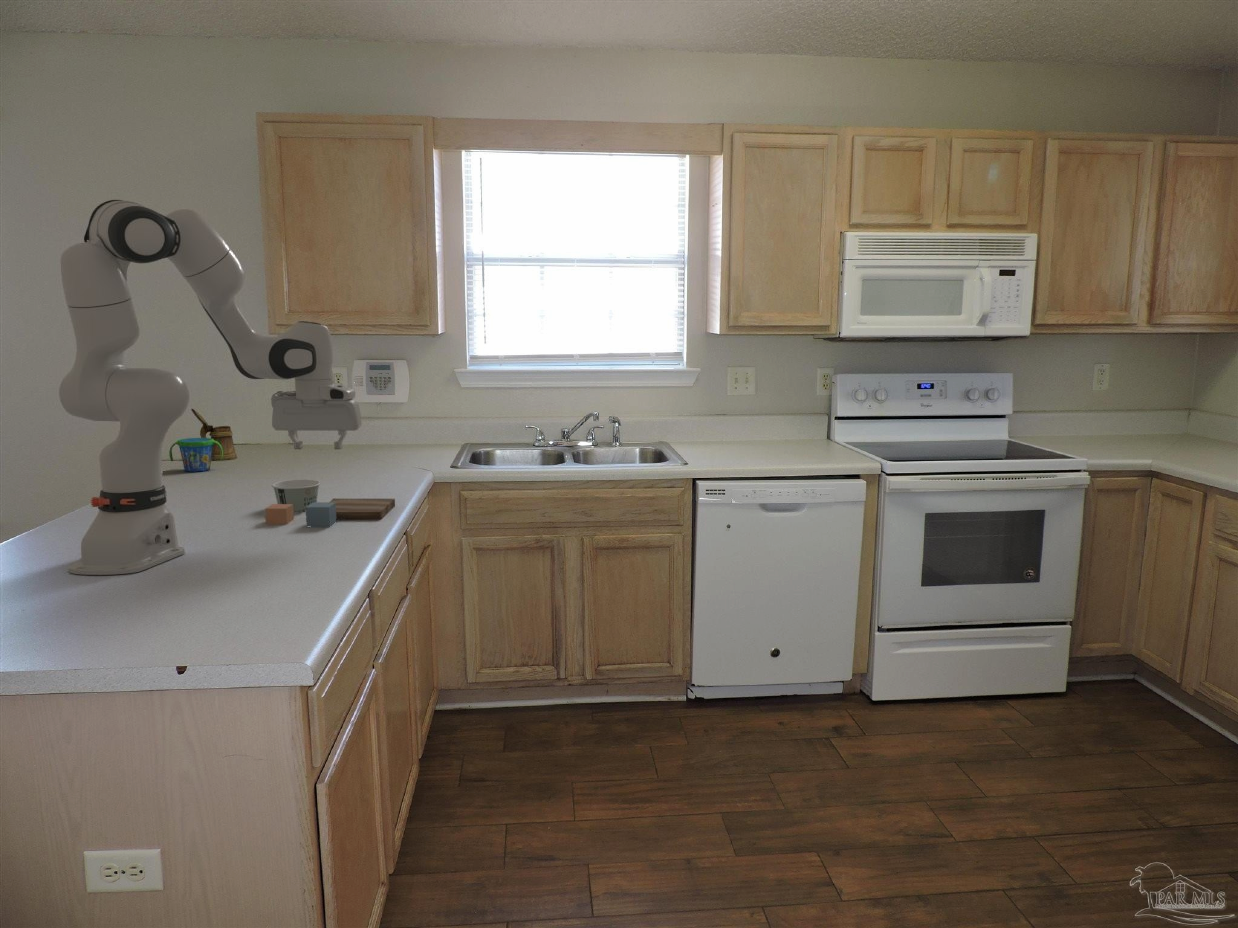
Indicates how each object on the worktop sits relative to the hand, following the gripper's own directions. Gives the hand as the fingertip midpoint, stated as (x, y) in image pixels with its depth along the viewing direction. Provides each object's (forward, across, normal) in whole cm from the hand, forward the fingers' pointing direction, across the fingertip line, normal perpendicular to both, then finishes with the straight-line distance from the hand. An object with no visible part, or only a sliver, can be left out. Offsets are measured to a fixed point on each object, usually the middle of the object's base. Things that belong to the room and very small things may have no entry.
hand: (318, 449), depth 208 cm
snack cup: (+19, -62, +75) cm, 99 cm away
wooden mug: (+19, -66, +99) cm, 120 cm away
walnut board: (+18, +5, +13) cm, 23 cm away
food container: (+19, -12, +19) cm, 29 cm away
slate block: (+18, 0, 0) cm, 19 cm away
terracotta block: (+19, -11, +3) cm, 22 cm away
